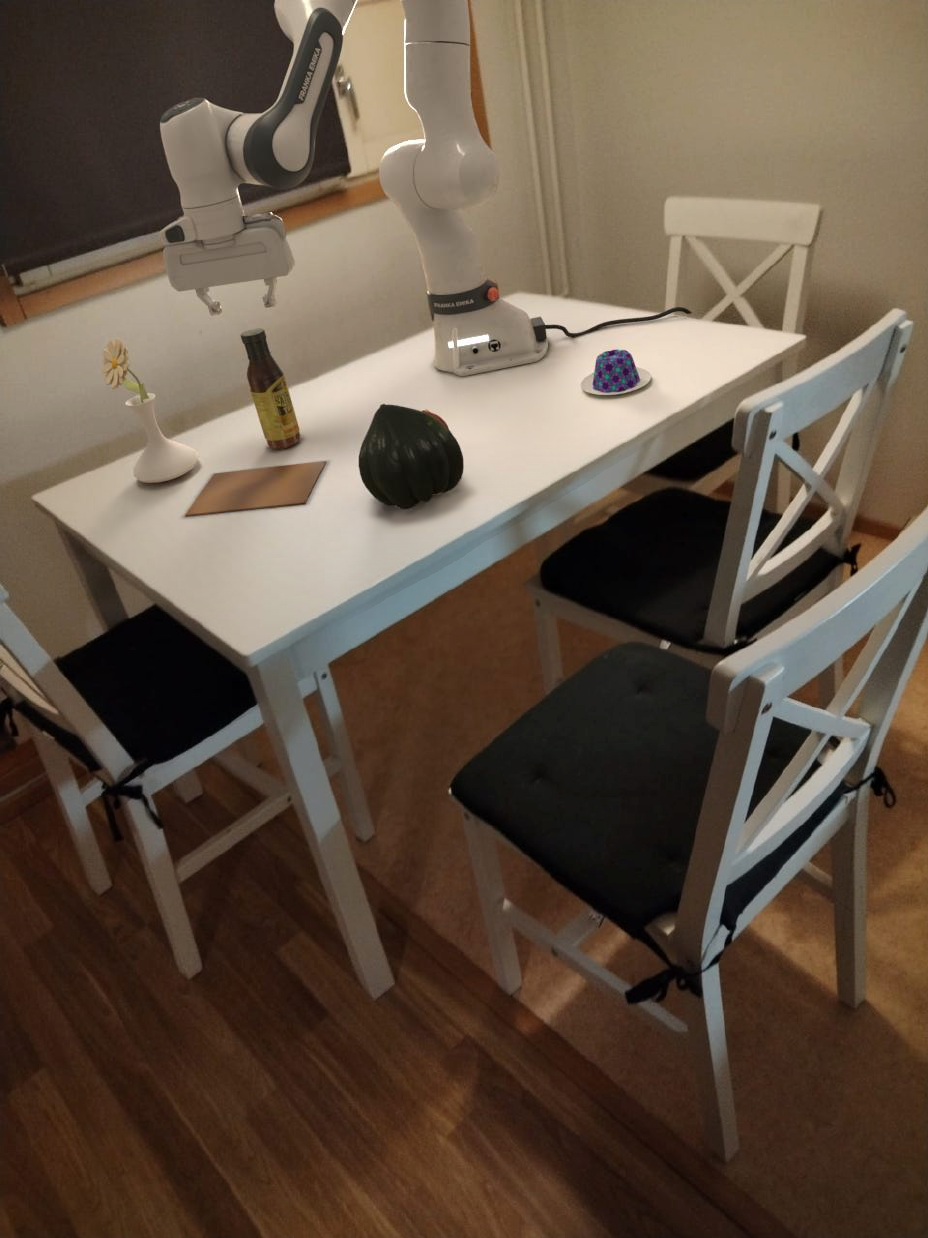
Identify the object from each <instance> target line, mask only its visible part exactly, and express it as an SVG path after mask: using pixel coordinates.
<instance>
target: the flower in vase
mask: <svg viewBox="0 0 928 1238" xmlns="http://www.w3.org/2000/svg"><path fill="white" fill-rule="evenodd" d="M102 356H103V357H102V362H103V366H102V367H101V373H103V374H105V375H104V381H105V384H106V386H109V385H110V388H111V390H114V389H118V388H119V386H120V387H121V386H122V385H123V386H124V388H126V389H127V390H129V391H132V392H134V393H137V394H138V395H135V396H132V397H130V398H129V399H127V400H126V401H125V406H126V407H128V408H129V409H131V410H132V411H133V412H134V413H135V414H136V415H137V417H138V419H139V421H140V422H141V424H142V426H143V428H144V430H145V434H146V436H147V444H146V447H145V448H144V450H142V453H141V454H140V456H139V457H138V459H137V460H136V462H135V464H134V467H133V476H134V478H135V479H137V480H138V481H140V482H142V483H148V484H153V483H164V482H167V481H171V480H175V479H176V478H179V477H181V476H183V475H185V474H186V473H188V472H189V471H190V470H192V469H194V467H195V466H196V465H197V463H198V462H199V461H198V460H199V453H198V452H197V450H195V449H194V448H193V447H191V446H189V445H186V444H184V443H180V442H178V441H174V440H171V439H169V438H167V437H165V436H164V435H163V433H162V431H161V429H160V428H159V425H158V422H157V419H156V415H155V409H154V407H155V406H154V403H155V399H156V394H155V393H152V392H148V393H147V391H146V386H145V383H144V382H142V383H141V381H140V380H139V378H138V377H137V375H135V373H134V372H133V371H132V370H131V369H130V361H129V358H130V357H129V348H128V347H126V345H125V342H124V341H122V339H121V338H119V337H117V336H116V337H115V338H114V340H113V339H111V338H110V339H109V342H107V343H106V349H105V348H104V349H103V350H102ZM128 373H129V374H130V375H131V376H133V378H134V379H135V381H136V382H135V381H132V380H131V379H129V378H127V377H126V376H127V375H128Z"/></svg>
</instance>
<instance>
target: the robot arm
mask: <svg viewBox="0 0 928 1238" xmlns="http://www.w3.org/2000/svg"><path fill="white" fill-rule="evenodd" d="M399 1H400V3H401V6H402V10H403V16H404V30H403V31H404V35H403V36H404V38H403V39H404V40H403V41H404V42H403V45H404V47H403V51H404V95H405V99H406V102H407V103H408V105H409V106H410V107H411V108H412V109H413V111H415V112H416V114H417V116H418V118H419V121H420V124H421V127H422V131H423V137H424V139H416V140H415V139H414V140H413V139H412V140H408V141H403V142H402V143H399V144H397V145H394V146H392V147H390V148H389V149H387V151H386V152H385V153H384V154H383V156H382V158H381V160H380V163H379V169H378V179H379V183H380V187H381V189H382V191H383V193H384V194H385V196H386V197H387V198H388V199H390V200H391V202H393V203H394V205H395V206H396V207H397V208H398V210H399V211H400V212H401V214H402V215H403V217H404V219H405V221H406V224H407V226H408V227H409V229H410V231H411V233H412V235H413V238H414V240H415V243H416V246H417V248H418V251H419V254H420V258H421V259H420V260H421V263H422V269H423V272H424V276H425V282H426V287H427V291H426V292H425V293H426V303H427V307H428V312H429V316H430V319H431V321H432V324H433V333H434V334H433V335H434V358H433V366H434V367H435V368H436V369H438V370H440V371H443V372H449V373H453V374H454V375H456V376H460V377H466V376H471V375H476V374H482V373H487V372H491V371H496V370H501V369H507V368H511V367H516V366H522V365H526V364H527V365H528V364H531V363H535V362H538V361H540V360H541V359H543V358H544V356H545V355H546V354H547V352H548V348H549V342H548V335H547V330H560V331H562V332H563V334H564V335H565V336H566V337H569V338H578V337H580V336H584V335H587V334H590V333H592V332H595V331H597V330H600V329H602V328H605V327H609V326H613V325H621V324H631V323H641V322H642V323H643V322H649V321H656V320H658V319H662V318H664V317H666V316H668V315H670V314H674V313H676V312H681V313H685V314H686V315H690V314H692V311H691V310H690V309H689V308H686V307H683V306H677V307H676V306H675V307H672V308H670V309H667V310H665V311H663V312H660V313H658V314H657V313H656V314H654V315H649V316H641V317H631V318H630V317H629V318H619V319H614V320H607V321H603V322H601V323H599V324H596V325H594V326H592V327H590V328H588V329H586V330H584V331H580V332H570V331H569V330H568V329H567V327H566V326H564V325H561V324H546V323H545V322H544V319H543V318H542V317H541V316H537V317H531V318H530V316H529V314H528V313H527V311H524V310H523V309H521V308H520V307H517V306H516V305H513V304H511V303H509V302H508V301H506V300H504V299H503V298H500V290H499V284H498V281H497V279H494V281H493V280H491V279H489V278H487V277H486V272H485V264H484V258H483V252H482V246H481V241H480V237H479V236H478V234H477V233H476V232H475V230H474V229H472V228H471V227H470V226H469V225H468V223H467V222H466V221H465V220H464V218H463V216H462V215H461V212H460V211H463V210H469V209H472V208H475V207H480V206H483V205H485V204H487V203H489V202H490V201H491V199H492V198H493V197H494V195H495V194H496V191H497V189H498V186H499V181H500V166H499V161H498V159H497V156H496V154H495V153H494V151H493V150H492V149H491V148H490V146H488V144H487V143H486V142H485V140H484V138H483V136H482V135H481V131H480V130H479V127H478V123H477V120H476V117H475V111H474V108H473V102H472V101H473V100H472V95H471V94H472V92H471V90H472V89H471V22H470V21H471V20H470V9H469V2H468V0H399ZM357 2H358V0H274V4H273V8H274V14H275V17H276V20H277V22H278V25H279V27H280V30H282V32H283V34H284V35H285V36H286V37H287V39H289V40H290V41H291V42H292V43H293V52H292V56H291V59H290V62H289V65H288V68H287V71H286V74H285V76H284V80H283V83H282V86H281V88H280V92H279V94H278V97H277V99H276V101H275V102H274V103H273V105H271V106H270V107H269V108H268V109H266V110H265V111H264V112H261V113H252V112H249V113H246V112H241V111H236V110H231V109H228V108H224V107H221V106H219V105H217V104H214V103H212V102H210V101H209V100H207V99H206V98H205V97H204V98H203V97H193V98H190V99H187V100H185V101H181V102H179V103H177V104H175V105H173V106H172V107H170V108H168V109H167V110H166V111H165V112H164V113H163V114H162V116H161V118H160V120H159V130H160V137H161V142H162V147H163V150H164V154H165V159H166V161H167V165H168V169H169V171H170V175H171V177H172V179H173V181H174V182H175V184H176V186H177V188H178V191H179V196H180V205H181V209H182V211H183V215H180V216H179V217H177V218H176V219H175V220H174V221H173V222H171V223H169V224H168V225H166V226H165V227H163V228H162V229H161V230H160V232H159V233H158V235H159V240H160V242H161V244H163V245H164V248H163V252H162V258H163V263H164V267H165V272H166V275H167V279H168V282H169V284H170V286H171V287H172V288H173V289H174V290H175V291H176V292H179V293H181V292H186V291H194V290H195V293H196V296H197V297H198V298H199V300H200V301H201V302H202V303H204V305H205V306H207V308H208V312H209V314H210V316H219V315H221V314H222V313H223V307H221V303H220V300H214V298H213V297H212V296H211V295H210V294H209V291H210V288H213V287H220V286H227V285H234V284H241V283H248V282H253V281H259V280H260V281H261V280H263V281H264V285H265V286H266V287H268V290H267V293H265V294H264V295H263V296H262V297H261V298H262V302H263V303H264V304H263V305H264V308H265V309H267V308H274V307H276V305H277V300H276V295H275V292H276V289H277V284H278V278H279V277H280V278H282V277H287V276H289V275H290V274H291V273H292V272H293V270H294V267H295V265H296V263H295V262H296V261H295V258H294V255H293V252H292V249H291V246H290V244H289V242H288V240H287V230H286V226H285V223H284V221H283V219H282V218H281V217H280V216H278V215H276V214H273V213H272V212H262V213H260V214H259V213H258V214H251V215H250V214H249V215H246V214H245V210H244V207H243V203H242V200H241V196H240V193H239V186H240V185H241V184H250V185H251V184H252V185H256V186H257V185H258V186H265V187H269V188H273V189H277V190H289V189H293V188H295V187H298V186H299V185H301V184H302V183H303V181H305V179H306V178H307V177H308V175H309V174H310V172H311V170H312V167H313V164H314V159H315V152H316V151H315V150H316V137H317V128H318V125H319V121H320V118H321V115H322V112H323V109H324V106H325V103H326V100H327V97H328V94H329V91H330V88H331V85H332V82H333V79H334V76H335V73H336V70H337V67H338V64H339V61H340V57H341V53H342V49H343V45H344V43H343V42H344V34H345V31H346V28H347V25H348V23H349V21H350V18H351V16H352V13H353V11H354V10H355V9H354V8H355V6H356V4H357ZM459 210H460V211H459Z"/></svg>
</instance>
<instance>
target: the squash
mask: <svg viewBox="0 0 928 1238" xmlns="http://www.w3.org/2000/svg"><path fill="white" fill-rule="evenodd" d="M448 428H449V427H448ZM448 428H447V427H446V426H445V425H444V424H443V423H442V422H441V421H440V420H439V419H438V418H436V417H434V416H433V415H431V414H428V413H425V412H422V410H419V409H416V408H412V407H407V406H402V405H397V404H386V403H381V404H380V405H379V407H378V409H377V410H376V411H375V413H374V415H373V418H372V419H371V422H370V425H369V427H368V429H367V431H366V433H365V436H364V438H363V439H362V443H361V446H360V449H359V454H358V471H359V476H360V478H361V481H362V483H363V485H364V487H365V488H366V489H367V491H368V492H369V493H370V494H371V495H372V497H374V499H376V500H377V501H378V502H380V503H382V504H384V505H386V506H390V507H396V508H398V509H401V510H410V509H413V508H415V507H416V506H417V505H418V504H419V503H420V502H421V503H428V502H430V501H431V500H432V499H433V496H434V495H436V496H437V495H439V494H445V493H448V492H450V491H452V490H453V489H455V488H456V487H457V486H458V484H459V483H460V481H461V480H462V478H463V474H464V467H465V465H464V455H463V452H462V448H461V446H460V443H459V442H458V440H457V438H456V437H455V435H453V433H452V432H451V430H450V428H449V429H448Z"/></svg>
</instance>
